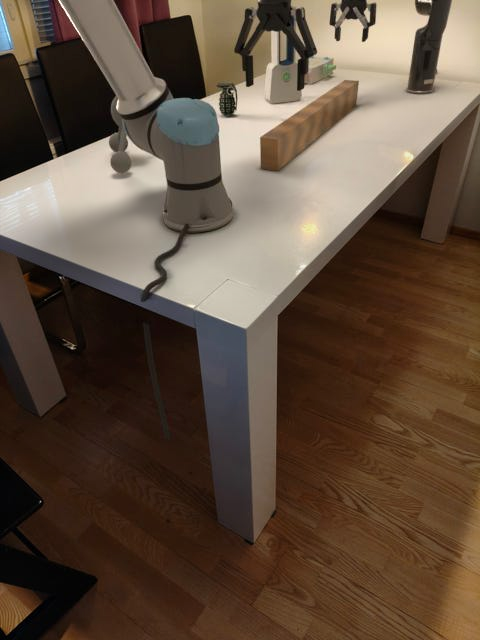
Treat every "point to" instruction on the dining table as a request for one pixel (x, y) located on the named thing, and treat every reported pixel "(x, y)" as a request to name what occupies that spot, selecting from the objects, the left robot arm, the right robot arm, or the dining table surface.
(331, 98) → the beam
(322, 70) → the decorative block
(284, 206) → the dining table surface
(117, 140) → the molecular model
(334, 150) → the dining table surface
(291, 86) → the electronic device
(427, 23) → the right robot arm
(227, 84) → the grenade
